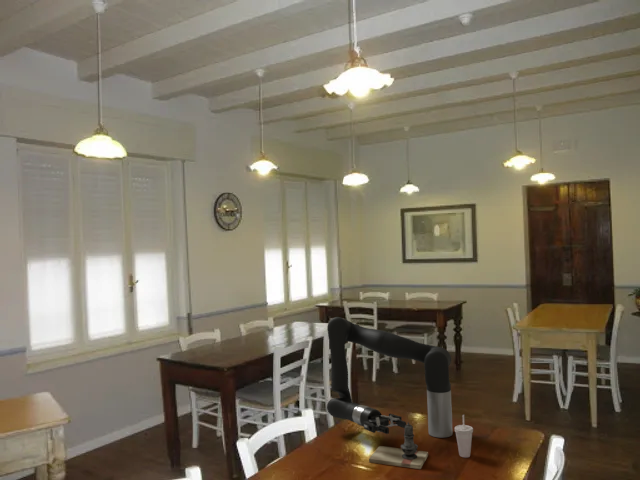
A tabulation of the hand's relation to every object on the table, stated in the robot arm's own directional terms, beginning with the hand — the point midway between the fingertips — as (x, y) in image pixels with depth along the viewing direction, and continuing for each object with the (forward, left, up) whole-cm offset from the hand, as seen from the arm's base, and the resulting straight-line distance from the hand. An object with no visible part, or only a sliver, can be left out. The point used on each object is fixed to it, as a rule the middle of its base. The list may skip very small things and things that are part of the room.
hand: (397, 428), depth 192 cm
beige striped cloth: (+3, +1, -10) cm, 10 cm away
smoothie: (-7, +22, -10) cm, 25 cm away
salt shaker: (+3, +5, -9) cm, 10 cm away
